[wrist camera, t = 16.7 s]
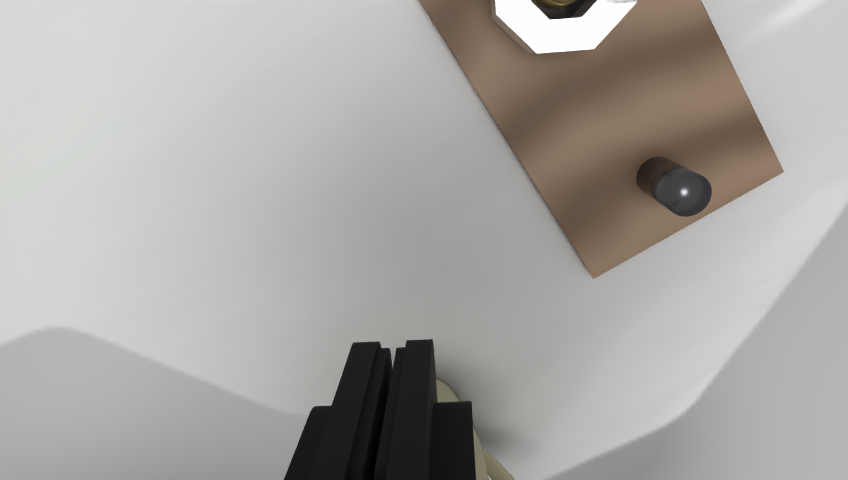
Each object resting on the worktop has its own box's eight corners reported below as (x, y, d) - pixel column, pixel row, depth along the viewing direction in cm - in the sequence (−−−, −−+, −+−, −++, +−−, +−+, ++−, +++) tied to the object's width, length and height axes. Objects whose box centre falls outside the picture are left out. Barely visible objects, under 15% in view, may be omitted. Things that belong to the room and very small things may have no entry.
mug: (389, 470, 43) (367, 618, 32) (351, 366, 40) (312, 488, 29) (523, 445, 42) (551, 590, 30) (495, 335, 39) (514, 450, 28)
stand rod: (668, 198, 34) (702, 220, 29) (631, 190, 34) (659, 211, 29) (681, 160, 33) (718, 178, 28) (643, 153, 33) (674, 169, 28)
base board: (772, 167, 34) (783, 171, 33) (589, 271, 37) (593, 278, 36) (615, -155, 29) (622, -163, 28) (416, -5, 32) (414, -8, 31)
